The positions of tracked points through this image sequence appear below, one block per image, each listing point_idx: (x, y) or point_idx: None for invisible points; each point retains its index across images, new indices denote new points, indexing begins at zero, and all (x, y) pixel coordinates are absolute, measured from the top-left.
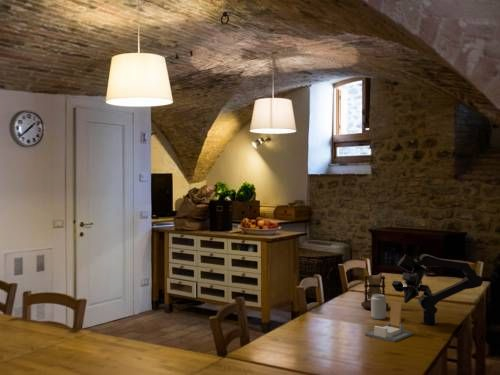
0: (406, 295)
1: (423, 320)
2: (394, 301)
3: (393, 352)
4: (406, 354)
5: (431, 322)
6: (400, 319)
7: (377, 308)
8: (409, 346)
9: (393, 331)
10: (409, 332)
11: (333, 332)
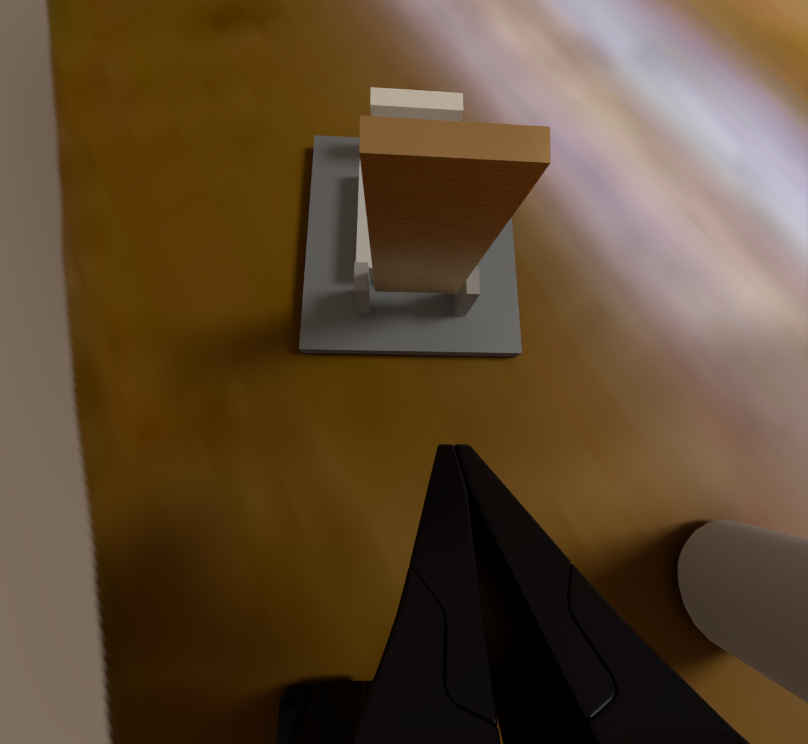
0: (507, 572)
1: (363, 701)
2: (483, 129)
3: (243, 23)
4: (179, 30)
5: (297, 729)
6: (373, 269)
7: (804, 554)
8: (218, 135)
9: (361, 187)
10: (316, 324)
11: (647, 110)
